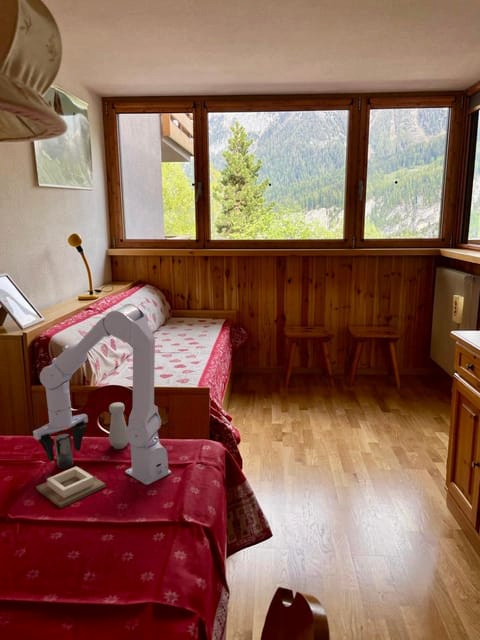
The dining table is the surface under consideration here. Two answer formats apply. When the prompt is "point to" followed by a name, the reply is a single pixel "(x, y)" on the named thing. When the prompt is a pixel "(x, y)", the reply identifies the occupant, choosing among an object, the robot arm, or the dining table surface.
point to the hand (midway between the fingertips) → (64, 454)
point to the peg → (64, 450)
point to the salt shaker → (117, 426)
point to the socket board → (70, 486)
